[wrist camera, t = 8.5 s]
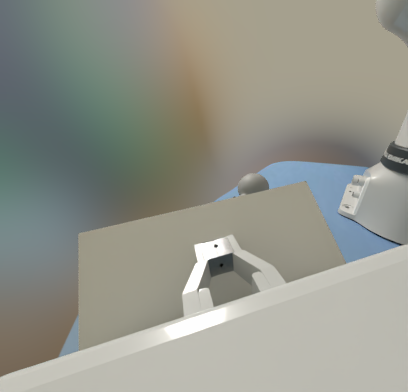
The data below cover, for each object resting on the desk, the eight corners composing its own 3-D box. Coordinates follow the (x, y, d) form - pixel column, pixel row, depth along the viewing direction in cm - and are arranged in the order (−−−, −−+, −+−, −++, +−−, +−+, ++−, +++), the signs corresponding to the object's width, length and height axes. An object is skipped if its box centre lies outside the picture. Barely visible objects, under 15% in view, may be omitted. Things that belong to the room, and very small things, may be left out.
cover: (300, 184, 15) (305, 181, 14) (375, 342, 11) (388, 349, 10) (85, 234, 13) (78, 233, 12) (89, 457, 9) (79, 477, 8)
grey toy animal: (228, 220, 40) (217, 200, 34) (250, 188, 44) (244, 165, 38) (254, 231, 35) (246, 210, 29) (276, 194, 39) (272, 168, 34)
